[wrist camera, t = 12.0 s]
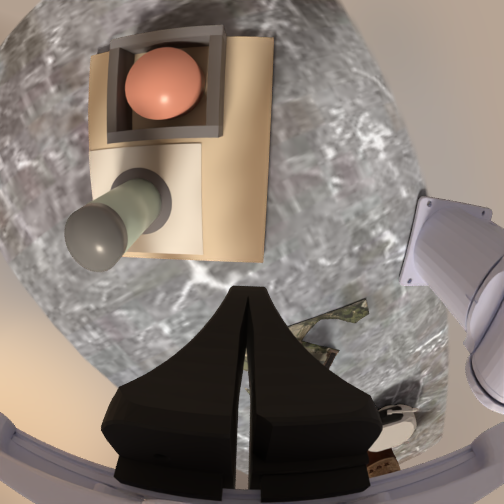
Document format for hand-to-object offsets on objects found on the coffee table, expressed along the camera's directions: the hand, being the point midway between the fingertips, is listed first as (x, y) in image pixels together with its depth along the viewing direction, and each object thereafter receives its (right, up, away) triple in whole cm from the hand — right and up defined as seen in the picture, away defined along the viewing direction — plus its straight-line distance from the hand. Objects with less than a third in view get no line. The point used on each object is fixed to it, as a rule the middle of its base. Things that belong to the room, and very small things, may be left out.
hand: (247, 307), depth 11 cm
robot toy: (+16, -22, +23) cm, 36 cm away
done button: (-5, +13, +4) cm, 14 cm away
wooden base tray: (-5, +9, +7) cm, 13 cm away
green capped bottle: (-8, +6, +8) cm, 13 cm away
